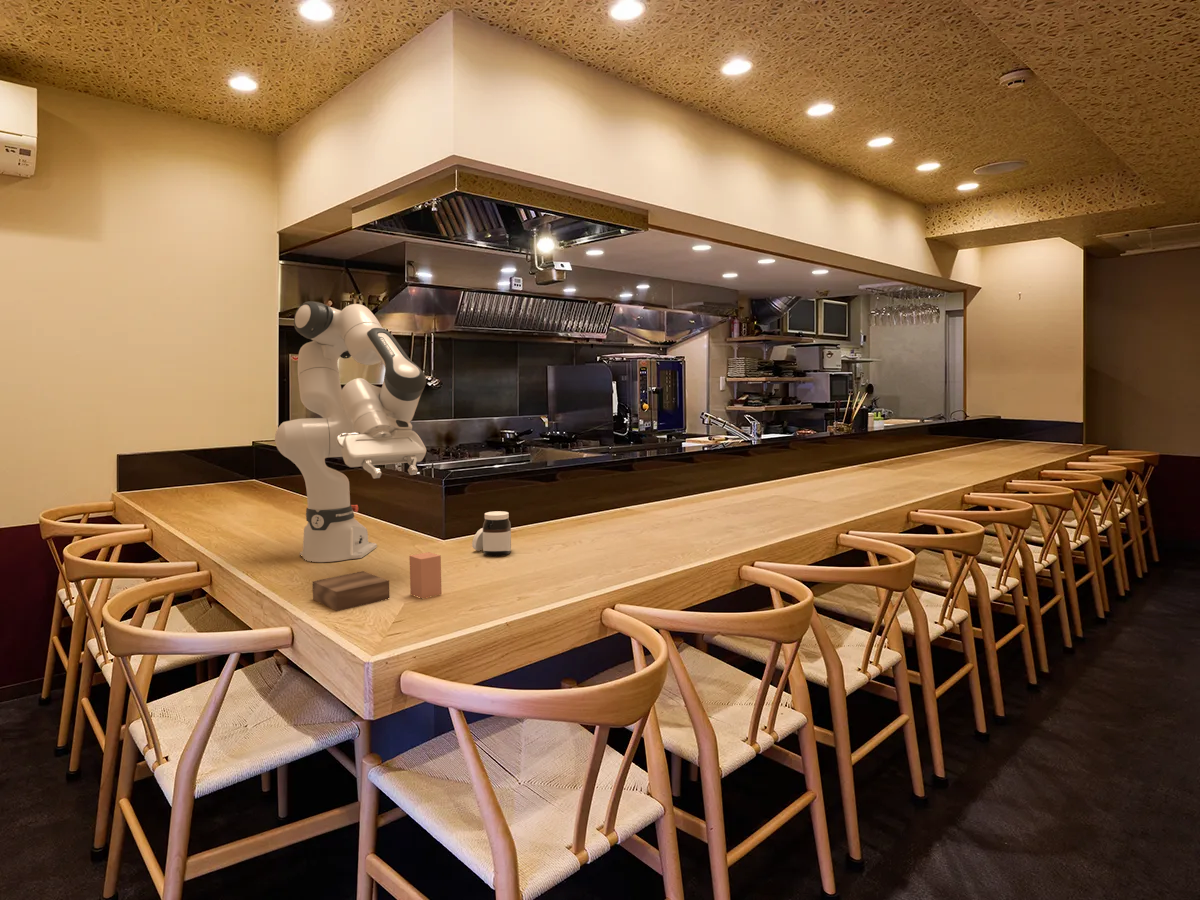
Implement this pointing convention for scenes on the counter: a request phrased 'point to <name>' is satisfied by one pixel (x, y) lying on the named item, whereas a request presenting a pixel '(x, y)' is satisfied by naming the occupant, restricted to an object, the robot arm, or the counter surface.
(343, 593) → the walnut slab
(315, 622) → the counter surface
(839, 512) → the counter surface
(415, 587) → the terracotta block
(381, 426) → the robot arm
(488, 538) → the spread jar
